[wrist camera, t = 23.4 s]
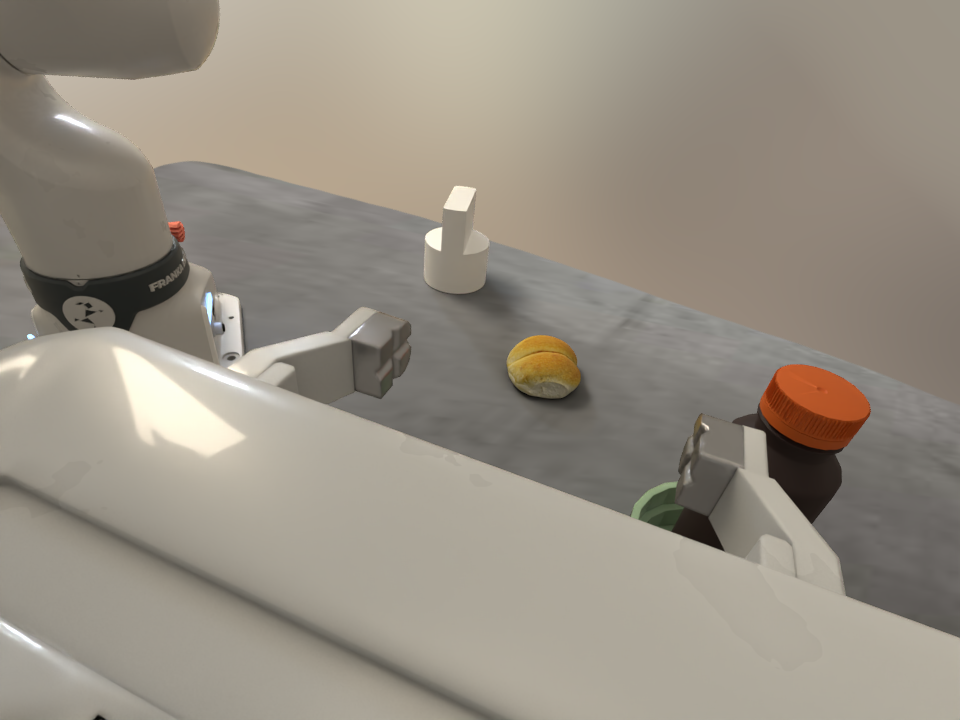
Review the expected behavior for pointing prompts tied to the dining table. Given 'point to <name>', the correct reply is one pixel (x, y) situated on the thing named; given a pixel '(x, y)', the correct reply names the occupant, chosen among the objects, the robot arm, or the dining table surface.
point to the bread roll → (543, 367)
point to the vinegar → (798, 440)
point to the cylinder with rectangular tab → (456, 247)
